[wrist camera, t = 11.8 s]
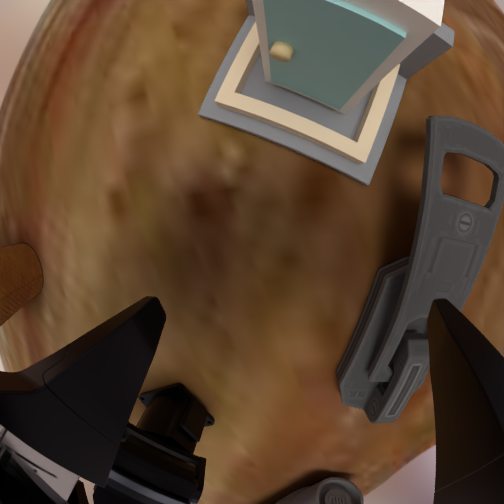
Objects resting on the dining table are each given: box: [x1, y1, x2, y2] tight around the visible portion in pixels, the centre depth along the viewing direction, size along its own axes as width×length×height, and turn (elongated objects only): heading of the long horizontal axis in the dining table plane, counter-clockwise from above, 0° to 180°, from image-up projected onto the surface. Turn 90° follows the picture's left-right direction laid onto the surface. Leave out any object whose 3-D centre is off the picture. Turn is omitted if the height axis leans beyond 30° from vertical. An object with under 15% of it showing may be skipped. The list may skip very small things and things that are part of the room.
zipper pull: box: [336, 116, 504, 424], centre depth 17 cm, size 9×7×25 cm
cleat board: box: [198, 0, 455, 185], centre depth 13 cm, size 11×13×8 cm
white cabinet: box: [252, 0, 444, 114], centre depth 10 cm, size 6×6×13 cm
